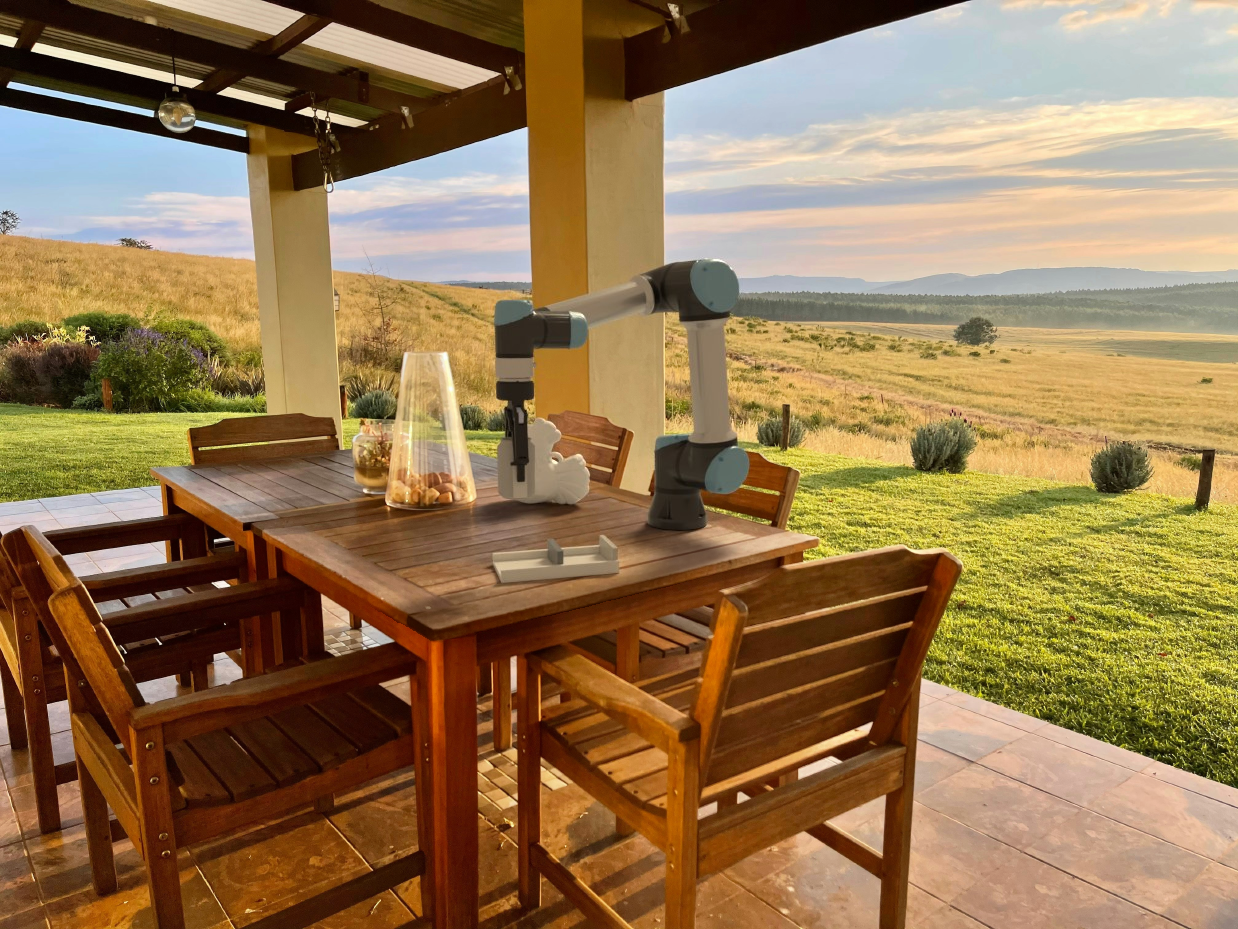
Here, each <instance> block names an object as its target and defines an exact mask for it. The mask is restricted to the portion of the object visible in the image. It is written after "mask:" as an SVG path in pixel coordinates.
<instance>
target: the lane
mask: <svg viewBox="0 0 1238 929" xmlns="http://www.w3.org/2000/svg"><path fill="white" fill-rule="evenodd" d="M598 536H599V539H598V540H599V541H598V543H599V544H596V545H595V544H594V545H582V546H580V545H579V546H569V547H567V546H566V547H560V548H561V549H562V550H563V564H558V565H553V564H552V562H551V561H550V560H549V558H548V548H544V549H543V548H541V549H530V550H529V549H528V550H516V551H503V552H492V566H493V568H494V570H495V573H496V574H497V576H498V578H499V580H500V583H501V584H504V583H516V582H517V583H518V582H528V581H529V582H530V581H539V580H552V579H563V578H574V577H575V578H576V577H585V576H586V577H587V576H598V575H610V574H619V573H620V560H619V548H618V546H617V545H615V543H613V542H612V541H611V539H609V538H608V537H607V536H606V535H605V534H599V535H598Z"/></svg>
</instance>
